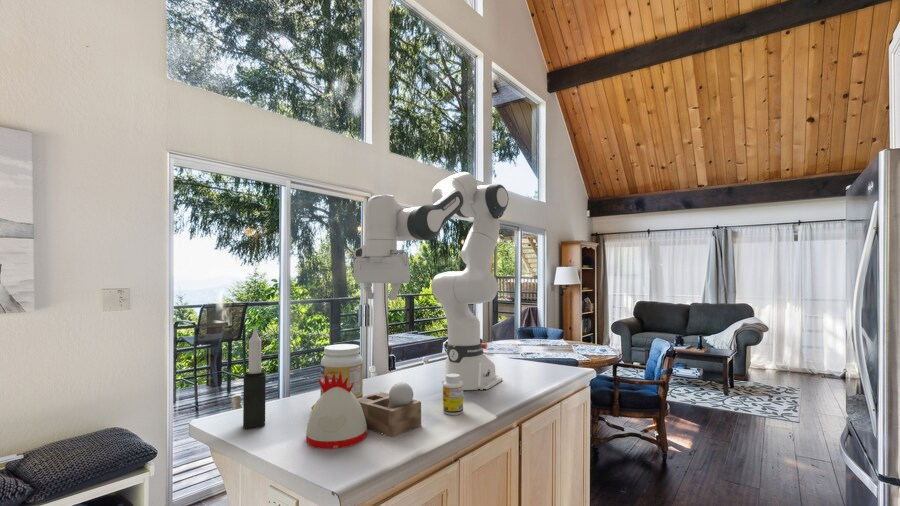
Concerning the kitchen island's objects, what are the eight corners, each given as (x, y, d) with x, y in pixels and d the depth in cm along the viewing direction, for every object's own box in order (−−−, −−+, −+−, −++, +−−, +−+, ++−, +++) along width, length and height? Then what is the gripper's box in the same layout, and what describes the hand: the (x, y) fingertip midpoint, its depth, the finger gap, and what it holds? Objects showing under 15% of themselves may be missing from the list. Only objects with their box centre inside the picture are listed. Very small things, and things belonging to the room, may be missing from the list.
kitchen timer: (314, 428, 110) (314, 367, 111) (369, 426, 111) (369, 366, 112) (299, 450, 97) (299, 381, 97) (362, 447, 98) (362, 379, 98)
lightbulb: (394, 432, 109) (413, 395, 107) (373, 419, 110) (392, 383, 108) (401, 421, 115) (420, 386, 113) (381, 409, 116) (399, 374, 114)
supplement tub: (311, 407, 127) (311, 348, 128) (339, 396, 138) (339, 342, 139) (343, 413, 122) (344, 351, 123) (371, 401, 133) (371, 344, 133)
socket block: (381, 413, 121) (380, 391, 121) (421, 425, 111) (421, 401, 112) (351, 423, 113) (351, 400, 113) (392, 437, 103) (392, 411, 104)
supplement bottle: (442, 409, 124) (442, 372, 124) (462, 409, 124) (462, 372, 125) (443, 416, 118) (443, 377, 119) (463, 415, 119) (463, 377, 119)
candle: (243, 423, 114) (244, 326, 115) (265, 420, 116) (265, 325, 117) (242, 430, 109) (244, 328, 110) (265, 427, 111) (266, 327, 112)
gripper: (415, 249, 121) (415, 300, 121) (366, 252, 134) (366, 297, 134) (398, 248, 116) (399, 301, 116) (349, 251, 129) (349, 298, 129)
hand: (381, 299), depth 125 cm, fingers open, 8 cm apart
